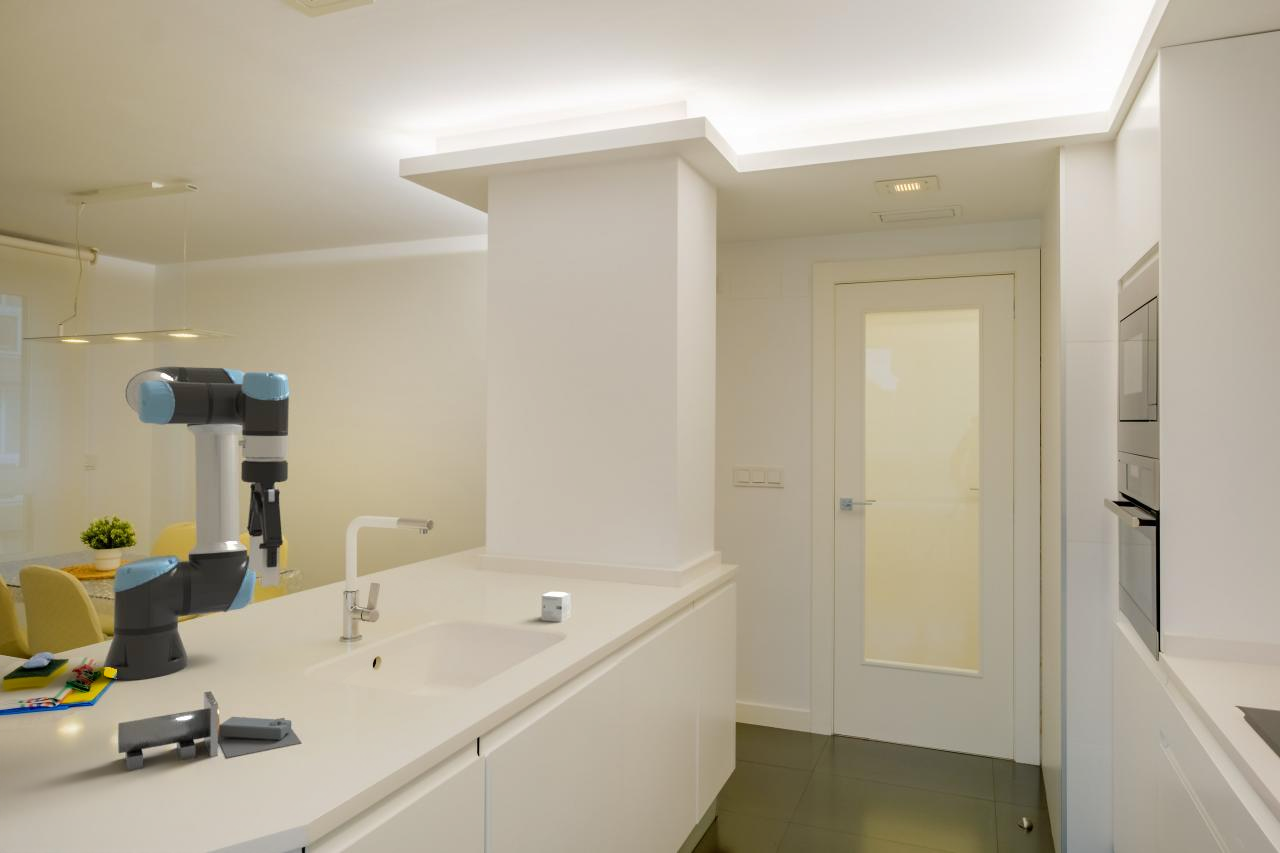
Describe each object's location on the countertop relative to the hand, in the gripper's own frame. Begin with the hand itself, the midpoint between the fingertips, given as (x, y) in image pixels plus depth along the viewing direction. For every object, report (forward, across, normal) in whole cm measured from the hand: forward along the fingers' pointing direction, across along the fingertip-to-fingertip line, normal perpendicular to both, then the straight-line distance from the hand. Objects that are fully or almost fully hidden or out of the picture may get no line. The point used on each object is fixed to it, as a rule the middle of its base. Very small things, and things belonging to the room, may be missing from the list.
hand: (263, 578), depth 148 cm
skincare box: (+26, -37, +78) cm, 90 cm away
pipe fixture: (+24, +13, -16) cm, 32 cm away
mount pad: (+24, +12, -3) cm, 27 cm away
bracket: (+25, +8, -5) cm, 27 cm away
